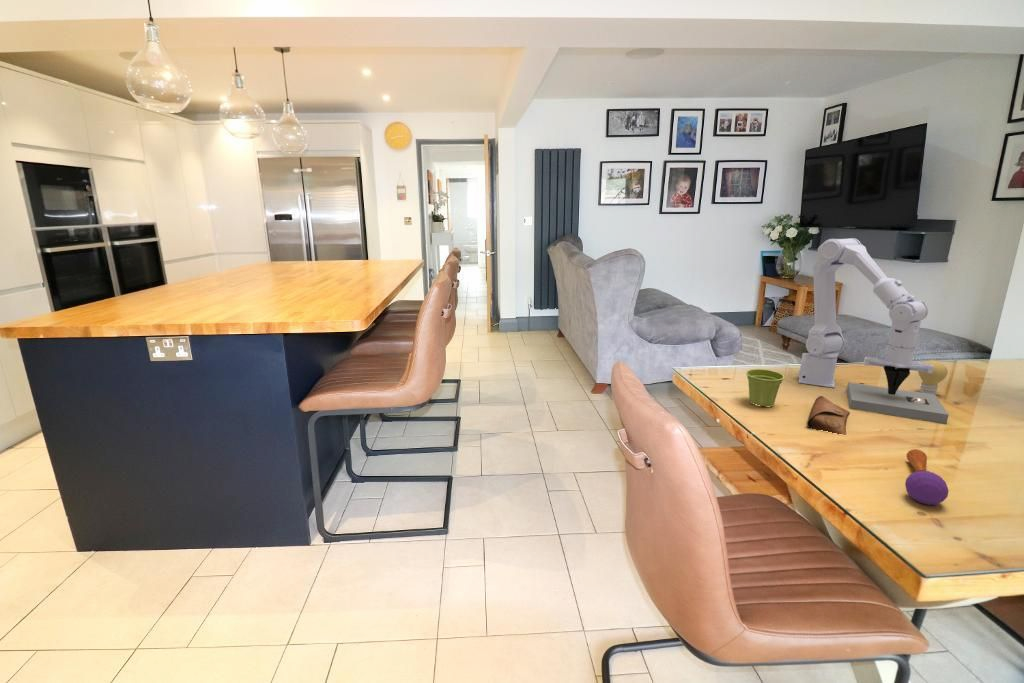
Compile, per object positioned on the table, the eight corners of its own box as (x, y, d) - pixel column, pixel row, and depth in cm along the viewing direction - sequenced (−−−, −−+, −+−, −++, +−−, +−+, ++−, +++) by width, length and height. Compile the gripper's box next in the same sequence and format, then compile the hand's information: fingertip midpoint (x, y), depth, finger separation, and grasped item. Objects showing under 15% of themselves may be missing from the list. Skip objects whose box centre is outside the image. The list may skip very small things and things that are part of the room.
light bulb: (931, 390, 143) (938, 358, 141) (947, 398, 137) (955, 364, 135) (908, 389, 144) (915, 357, 141) (923, 397, 138) (931, 364, 135)
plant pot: (765, 412, 128) (769, 382, 126) (735, 401, 137) (738, 372, 134) (787, 406, 133) (792, 376, 130) (757, 395, 141) (760, 367, 139)
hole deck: (850, 408, 131) (851, 399, 130) (846, 390, 144) (848, 382, 143) (946, 423, 121) (948, 414, 120) (933, 402, 134) (935, 394, 133)
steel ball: (913, 411, 129) (910, 400, 129) (911, 408, 131) (907, 397, 131) (928, 409, 127) (925, 398, 127) (925, 405, 130) (922, 394, 130)
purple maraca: (940, 450, 100) (957, 487, 83) (927, 475, 101) (941, 516, 85) (905, 438, 103) (915, 472, 86) (893, 462, 104) (901, 500, 88)
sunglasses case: (848, 436, 114) (835, 410, 115) (816, 443, 119) (803, 418, 119) (850, 411, 128) (839, 389, 129) (822, 419, 133) (810, 397, 133)
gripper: (869, 345, 129) (860, 393, 132) (940, 353, 121) (928, 403, 125) (867, 339, 134) (858, 385, 138) (934, 346, 127) (923, 394, 131)
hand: (891, 393), depth 132 cm, fingers closed
